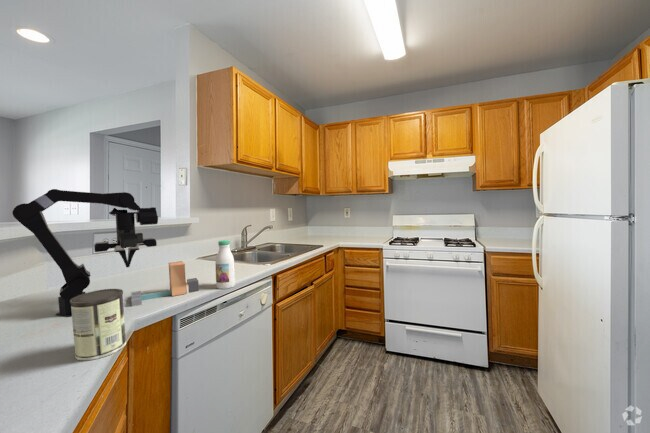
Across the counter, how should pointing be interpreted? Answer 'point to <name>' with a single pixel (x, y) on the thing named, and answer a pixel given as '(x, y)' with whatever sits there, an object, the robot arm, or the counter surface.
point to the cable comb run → (163, 292)
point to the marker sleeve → (177, 278)
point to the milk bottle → (225, 266)
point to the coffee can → (98, 323)
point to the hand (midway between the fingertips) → (127, 267)
